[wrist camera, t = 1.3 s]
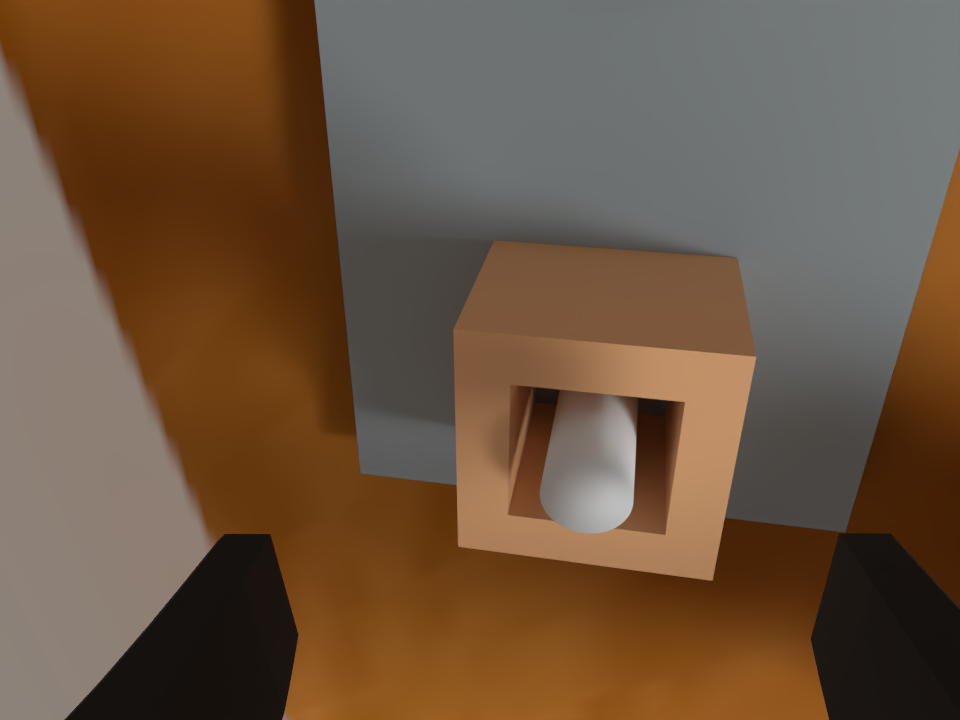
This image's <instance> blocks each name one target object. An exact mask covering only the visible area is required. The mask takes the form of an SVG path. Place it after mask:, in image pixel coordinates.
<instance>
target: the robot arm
mask: <svg viewBox="0 0 960 720" xmlns="http://www.w3.org/2000/svg"><path fill="white" fill-rule="evenodd" d="M297 640H298V632H297V628H296V625H295V621H294V618H293V614H292V610H291V607H290V603H289V600H288V596H287V593H286V589H285V585H284V582H283V578H282V575H281V571H280V568H279V564H278V561H277V557H276V553H275V550H274V546H273V543H272V539H271V536H270V534H224V535H223V536H222V537H221V538H220V539H219V540H218V541H217V543H216V544H215V545H214V546H213V547H212V549H211V550H210V551H209V552H208V554H207V555H206V556H205V557H204V559H203V560H202V561H201V562H200V563H199V565H198V566H197V567H196V568H195V570H194V571H193V572H192V574H191V575H190V576H189V577H188V578H187V580H186V581H185V582H184V583H183V584H182V586H181V587H180V588H179V589H178V591H177V592H176V593H175V594H174V595H173V597H172V598H171V599H170V600H169V602H168V603H167V604H166V605H165V606H164V608H163V609H162V610H161V611H160V612H159V614H158V615H157V616H156V617H155V618H154V620H153V621H152V622H151V623H150V624H149V626H148V627H147V628H146V629H145V630H144V631H143V633H142V634H141V635H140V636H139V637H138V638H137V640H136V641H135V642H134V643H133V644H132V646H130V648H129V649H128V650H127V651H126V652H125V653H124V655H123V656H122V657H121V658H120V659H119V661H118V662H117V663H116V664H115V665H114V666H113V667H112V668H111V670H110V671H109V672H108V673H107V674H106V675H105V677H104V678H103V679H102V680H101V681H100V682H99V683H98V684H97V686H96V687H95V688H94V689H93V690H92V691H91V692H90V693H89V694H88V695H87V696H86V697H85V698H84V700H83V701H82V702H81V703H80V704H79V705H78V706H77V707H76V708H75V709H74V710H73V711H72V712H71V713H70V715H69V716H68V717H67V718H66V719H65V720H282V718H283V715H284V711H285V706H286V701H287V696H288V690H289V685H290V680H291V675H292V669H293V663H294V657H295V651H296V645H297ZM811 642H812V646H813V651H814V656H815V660H816V665H817V669H818V674H819V679H820V683H821V687H822V691H823V696H824V700H825V704H826V708H827V712H828V716H829V720H960V608H959V607H958V606H957V605H956V604H955V603H954V602H953V601H952V600H951V599H950V597H949V596H948V595H947V594H946V593H945V592H944V591H943V590H942V589H941V588H940V587H939V586H938V584H937V583H936V582H935V581H934V580H933V579H932V578H931V577H930V576H929V575H928V573H927V572H926V571H925V570H924V569H923V568H922V567H921V566H920V565H919V564H918V563H917V561H916V560H915V559H914V558H913V557H912V556H911V555H910V554H909V553H908V552H907V551H906V549H905V548H904V547H903V546H902V545H901V544H900V543H899V542H898V541H897V540H896V539H895V538H894V537H893V536H892V535H891V534H839V537H838V541H837V544H836V548H835V552H834V555H833V559H832V563H831V567H830V570H829V574H828V578H827V581H826V585H825V589H824V592H823V596H822V600H821V603H820V607H819V611H818V614H817V618H816V622H815V626H814V629H813V633H812V637H811Z"/></svg>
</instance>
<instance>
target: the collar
mask: <svg viewBox="0 0 960 720" xmlns="http://www.w3.org/2000/svg"><path fill="white" fill-rule="evenodd" d="M453 335H454V381H455V426H456V472H457V518H458V547H464V548H472V549H479V550H487V551H494V552H502V553H509V554H517V555H524V556H532V557H539V558H546V559H554V560H561V561H569V562H576V563H584V564H591V565H599V566H606V567H613V568H621V569H628V570H636V571H643V572H651V573H658V574H666V575H673V576H680V577H688V578H695V579H703V580H710V581H713V575H714V570H715V565H716V560H717V555H718V550H719V545H720V540H721V535H722V530H723V524H724V519H725V514H726V509H727V504H728V499H729V494H730V489H731V484H732V478H733V473H734V468H735V463H736V458H737V453H738V448H739V443H740V438H741V432H742V427H743V422H744V417H745V412H746V407H747V402H748V397H749V392H750V386H751V381H752V376H753V371H754V366H755V361H756V352H755V347H754V342H753V336H752V331H751V326H750V320H749V315H748V310H747V304H746V299H745V294H744V288H743V283H742V278H741V272H740V267H739V262H738V258H732V257H719V256H705V255H691V254H677V253H663V252H649V251H635V250H621V249H607V248H593V247H579V246H565V245H551V244H537V243H523V242H509V241H495V240H494V242H493V244H492V246H491V248H490V251H489V253H488V255H487V257H486V259H485V261H484V264H483V266H482V268H481V270H480V272H479V275H478V277H477V279H476V281H475V283H474V285H473V288H472V290H471V292H470V294H469V296H468V299H467V301H466V303H465V305H464V307H463V309H462V312H461V314H460V316H459V318H458V320H457V323H456V325H455V327H454V329H453ZM536 387H540V388H550V389H560V390H570V391H580V392H590V393H600V394H610V395H619V396H629V397H639V398H649V399H659V400H667V406H666V414H665V416H662V415H652V414H642V413H638V418H637V438H636V458H635V479H634V499H633V507H632V510H631V513H630V515H629V516H628V518H627V519H626V520H625V521H624V522H623V523H622V524H621V525H619V526H618V527H616V528H614V529H612V530H609V531H606V532H602V533H591V534H589V533H580V532H575V531H572V530H569V529H567V528H565V527H563V526H561V525H559V524H558V523H556V522H555V521H554V520H552V519H551V518H550V517H549V515H548V514H547V513H546V512H545V510H544V508H543V506H542V504H541V500H540V486H541V482H542V477H543V472H544V467H545V462H546V457H547V452H548V447H549V442H550V437H551V432H552V427H553V422H554V417H555V412H556V407H557V405H555V404H546V403H536V402H535V390H536Z"/></svg>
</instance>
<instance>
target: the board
mask: <svg viewBox="0 0 960 720" xmlns="http://www.w3.org/2000/svg"><path fill="white" fill-rule="evenodd" d="M314 1H315V11H316V22H317V32H318V42H319V52H320V63H321V73H322V83H323V94H324V104H325V114H326V124H327V135H328V145H329V155H330V165H331V176H332V186H333V196H334V207H335V217H336V227H337V237H338V248H339V258H340V268H341V278H342V289H343V299H344V309H345V320H346V330H347V340H348V350H349V361H350V371H351V381H352V391H353V402H354V412H355V422H356V433H357V443H358V453H359V463H360V474H369V475H377V476H385V477H393V478H401V479H410V480H418V481H426V482H434V483H442V484H451V485H457V472H456V426H455V381H454V335H453V329H454V327H455V325H456V323H457V320H458V318H459V316H460V314H461V312H462V309H463V307H464V305H465V303H466V301H467V299H468V296H469V294H470V292H471V290H472V288H473V285H474V283H475V281H476V279H477V277H478V275H479V272H480V270H481V268H482V266H483V264H484V261H485V259H486V257H487V255H488V253H489V251H490V248H491V246H492V244H493V242H494V240H495V241H509V242H523V243H537V244H551V245H565V246H579V247H593V248H607V249H621V250H635V251H649V252H663V253H677V254H691V255H705V256H719V257H732V258H738V262H739V267H740V272H741V278H742V283H743V288H744V294H745V299H746V304H747V310H748V315H749V320H750V326H751V331H752V336H753V342H754V347H755V352H756V361H755V366H754V371H753V376H752V381H751V386H750V392H749V397H748V402H747V407H746V412H745V417H744V422H743V427H742V432H741V438H740V443H739V448H738V453H737V458H736V463H735V468H734V473H733V478H732V484H731V489H730V494H729V499H728V504H727V509H726V514H725V518H730V519H738V520H746V521H754V522H762V523H771V524H779V525H787V526H795V527H803V528H812V529H820V530H828V531H836V532H844V533H845V532H846V529H847V525H848V522H849V519H850V515H851V512H852V509H853V505H854V502H855V498H856V495H857V492H858V488H859V485H860V482H861V478H862V475H863V472H864V468H865V465H866V461H867V458H868V455H869V451H870V448H871V445H872V441H873V438H874V435H875V431H876V428H877V424H878V421H879V418H880V414H881V411H882V408H883V404H884V401H885V398H886V394H887V391H888V387H889V384H890V381H891V377H892V374H893V371H894V367H895V364H896V361H897V357H898V354H899V350H900V347H901V344H902V340H903V337H904V334H905V330H906V327H907V324H908V320H909V317H910V314H911V310H912V307H913V303H914V300H915V297H916V293H917V290H918V287H919V283H920V280H921V277H922V273H923V270H924V266H925V263H926V260H927V256H928V253H929V250H930V246H931V243H932V240H933V236H934V233H935V229H936V226H937V223H938V219H939V216H940V213H941V209H942V206H943V203H944V199H945V196H946V192H947V189H948V186H949V182H950V179H951V176H952V172H953V169H954V166H955V162H956V159H957V156H958V152H959V149H960V0H314ZM535 402H536V403H546V404H555V405H557V407H556V412H555V417H554V422H553V427H552V432H551V437H550V442H549V447H548V452H547V457H546V462H545V467H544V472H543V477H542V482H541V486H540V500H541V504H542V506H543V508H544V510H545V512H546V513H547V514H548V515H549V517H550V518H551V519H552V520H554V521H555V522H556V523H558V524H559V525H561V526H563V527H565V528H567V529H569V530H572V531H575V532H580V533H589V534H591V533H602V532H606V531H609V530H612V529H614V528H616V527H618V526H619V525H621V524H622V523H623V522H624V521H625V520H626V519H627V518H628V516H629V515H630V513H631V510H632V507H633V499H634V479H635V458H636V438H637V418H638V413H642V414H652V415H662V416H665V414H666V406H667V400H659V399H649V398H639V397H629V396H619V395H610V394H600V393H590V392H580V391H570V390H560V389H550V388H540V387H536V390H535Z"/></svg>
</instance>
